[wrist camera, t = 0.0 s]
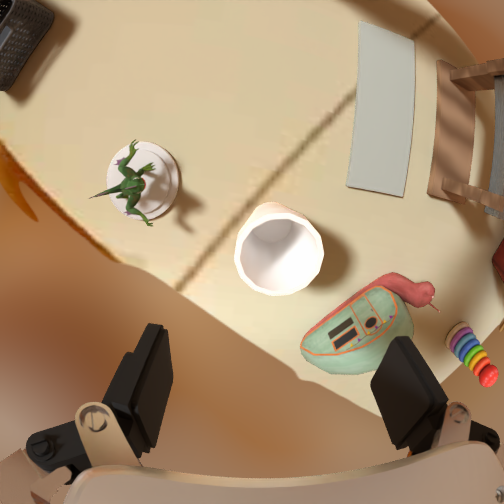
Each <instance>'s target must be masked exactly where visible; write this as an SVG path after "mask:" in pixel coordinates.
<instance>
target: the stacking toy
mask: <svg viewBox="0 0 504 504" xmlns="http://www.w3.org/2000/svg"><path fill="white" fill-rule="evenodd" d="M445 345H446V347H447V348H448V349H450V350H451V352H453V353H454V354H455V356H456V357H457V358H459V360H460V361H461V362H464V365H465V366H467V367H469V369H470V370H471V371H473V373H474V375H475V376H479V381H480V384H481V385H482V386H483V387H490V386H491V385H493V384H494V383H495V382H496V380H497V378H498V369H497V368H496V367H495V366H494V365H490V359H489V358H488V357H487V353H486V351H484V350H483V347H482V346H481V345H480V342H479V341H478V340H477V339H476V336H475V335H474V334H473V330H472V329H471V328H470V327H469V325H468V324H467V323H466V322H461V323H459V324H457V325H456V326H455V327H454V328H453V329H452V330H451V331H450V332H449V334H448V335H447V338H446V341H445Z"/></svg>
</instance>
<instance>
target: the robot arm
mask: <svg viewBox="0 0 504 504" xmlns="http://www.w3.org/2000/svg"><path fill="white" fill-rule="evenodd" d="M172 383H173V369H172V363H171V354H170V346H169V337H168V330H167V329H164V328H163V325H157V324H151V323H149V324H148V325H147V326H146V328H145V330H144V332H143V334H142V337H141V338H140V340H139V342H138V345H137V346H136V348H135V350H134V353H131V352H127V353H126V354H125V355H124V357H123V359H122V361H121V363H120V365H119V367H118V369H117V371H116V373H115V375H114V377H113V379H112V381H111V383H110V386H109V387H108V390H107V392H106V394H105V396H104V398H103V400H102V403H100V402H89V403H86V404H84V405H82V406H81V407H80V408H79V409H78V411H77V412H76V415H75V420H74V421H71V422H68V423H65V424H62V425H59V426H56V427H53V428H49V429H46V430H43V431H40V432H37V433H34V434H32V435H31V436H30V437H29V438H28V440H27V443H26V449H24V450H23V451H22V450H21V449H19V450H17V451H16V452H14V453H13V454H11V455H10V456H8V457H7V458H5V459H4V460H3V461H1V462H0V501H1V503H2V504H50V500H51V497H52V496H53V495H54V494H55V493H57V492H58V490H57V489H58V488H59V487H61V486H62V485H63V484H64V485H70V484H72V485H71V487H70V489H69V491H68V493H67V495H66V498H65V500H64V503H63V504H504V444H503V443H501V444H500V439H499V436H498V434H497V433H496V431H494V430H493V429H491V428H488V427H486V426H484V425H481V424H479V423H477V422H474V421H472V420H471V412H470V410H469V409H468V407H467V406H466V405H464V404H463V403H461V402H452V403H450V404H449V405H447V404H446V403H447V401H448V398H447V396H446V394H445V392H444V391H443V389H442V388H441V386H440V384H439V382H438V381H437V379H436V377H435V376H434V374H433V373H432V371H431V369H430V368H429V366H428V365H427V363H426V362H425V360H424V358H423V357H422V355H421V354H420V352H419V351H418V349H417V348H416V346H415V345H414V343H413V342H412V340H411V339H410V337H409V336H396V337H395V338H394V339H393V340H392V341H391V342H390V344H389V346H388V349H387V351H386V353H385V355H384V357H383V359H382V361H381V363H380V365H379V367H378V369H377V371H376V373H375V374H374V376H373V378H372V380H371V384H370V386H371V390H372V392H373V395H374V397H375V400H376V402H377V405H378V407H379V410H380V412H381V415H382V418H383V420H384V423H385V426H386V428H387V431H388V434H389V436H390V439H391V442H392V444H394V445H395V446H396V449H397V450H399V449H402V448H406V447H407V446H409V449H410V450H409V452H408V455H407V457H406V458H403V459H400V460H396V461H393V462H389V463H385V464H381V465H377V466H373V467H368V468H363V469H358V470H353V471H347V472H341V473H335V474H327V475H318V476H309V477H295V478H272V479H271V478H270V479H256V478H255V479H253V478H250V479H249V478H229V477H217V476H206V475H197V474H189V473H182V472H175V471H169V470H162V469H155V468H148V467H143V466H142V464H141V463H140V461H139V459H138V458H140V457H141V455H142V452H145V453H149V452H150V448H151V447H152V448H155V446H156V443H157V439H158V435H159V431H160V427H161V423H162V419H163V416H164V412H165V408H166V404H167V401H168V397H169V394H170V390H171V386H172Z"/></svg>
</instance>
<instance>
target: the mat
mask: <svg viewBox="0 0 504 504" xmlns="http://www.w3.org/2000/svg"><path fill="white" fill-rule="evenodd" d="M414 96H415V51H414V41H413V40H410V39H408V38H406V37H404V36H401V35H399V34H396V33H394V32H391V31H389V30H386V29H384V28H381V27H378V26H375V25H372V24H369V23H366V22H363V21H360V22H359V50H358V75H357V92H356V105H355V116H354V126H353V135H352V144H351V152H350V160H349V167H348V174H347V181H346V186H349V187H355V188H361V189H366V190H371V191H377V192H382V193H387V194H391V195H396V196H401V197H403V193H404V187H405V182H406V176H407V169H408V162H409V155H410V147H411V138H412V127H413V115H414Z"/></svg>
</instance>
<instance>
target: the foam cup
mask: <svg viewBox="0 0 504 504" xmlns="http://www.w3.org/2000/svg"><path fill="white" fill-rule="evenodd" d="M323 257H324V251H323V246H322V241H321V236H320V235H319V233H318V232H317V230H316V229H315V228H314V227H313V225H312V224H311V223H310V222H309V221H308V219H307V218H306V217H305V216H304V215H302V214H300V213H298V212H295V211H293V210H291V209H289V208H288V207H286V206H284V205H282V204H279V203H277V202H265V203H263V204H261V205H259V206H258V207H256V209H255V210H254V212H253V213H252V214H251V216H250V217H249V219H248V220H247V221H246V223H245V224H244V226H243V227H242V228H241V230H240V231H239V232H238V236H237V243H236V249H235V256H234V261H235V264H236V267H237V270H238V273H239V275H240V277H241V278H242V279H243V280H244V281H245V282H246V283H247V284H248V285H249V286H250V287H251V288H252V289H253V290H256V291H259V292H261V293H264V294H267V295H270V296H276V295H290V294H292V293H294V292H296V291H298V290H300V289H302V288H304V287H306V286H308V284H309V283H310V282H311V281H312V280H313V279H314V277H315V276H316V275H317V274H318V273H319V271H320V267H321V264H322V260H323Z"/></svg>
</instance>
